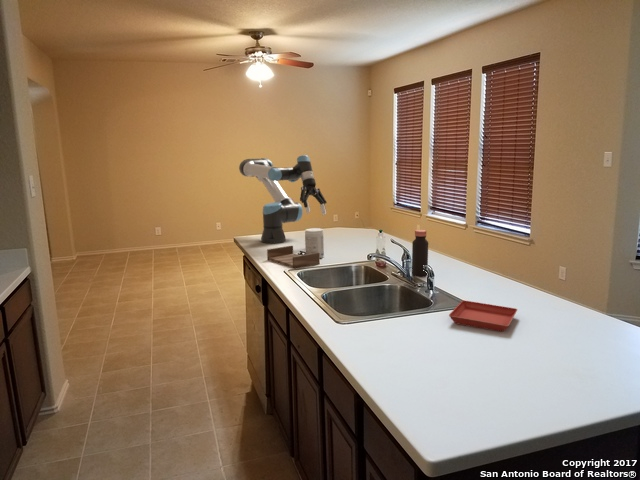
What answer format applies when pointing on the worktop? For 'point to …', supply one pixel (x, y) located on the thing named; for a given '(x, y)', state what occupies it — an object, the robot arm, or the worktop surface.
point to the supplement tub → (314, 241)
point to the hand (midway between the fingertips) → (316, 213)
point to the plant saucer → (483, 315)
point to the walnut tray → (292, 257)
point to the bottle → (419, 253)
